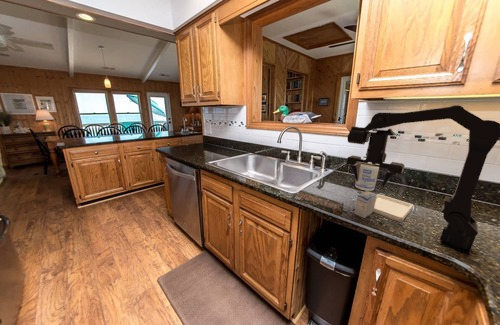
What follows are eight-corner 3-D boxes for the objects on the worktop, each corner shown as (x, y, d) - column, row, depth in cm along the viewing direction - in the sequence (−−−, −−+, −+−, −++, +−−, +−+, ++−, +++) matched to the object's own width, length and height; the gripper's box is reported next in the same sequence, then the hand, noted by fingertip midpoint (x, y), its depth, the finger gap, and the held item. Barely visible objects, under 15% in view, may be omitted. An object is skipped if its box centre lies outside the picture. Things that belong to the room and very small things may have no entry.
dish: (412, 208, 86) (413, 204, 85) (401, 222, 75) (402, 218, 74) (377, 197, 96) (378, 193, 96) (362, 208, 85) (363, 204, 85)
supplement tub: (360, 191, 103) (365, 165, 99) (351, 184, 113) (355, 160, 109) (378, 191, 103) (384, 165, 99) (368, 184, 112) (372, 160, 109)
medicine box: (362, 208, 85) (366, 190, 83) (373, 212, 82) (377, 194, 79) (353, 213, 81) (357, 194, 78) (365, 218, 77) (369, 199, 75)
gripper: (410, 147, 73) (401, 185, 77) (357, 141, 86) (352, 174, 90) (406, 151, 65) (396, 193, 70) (348, 143, 78) (343, 180, 82)
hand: (369, 184), depth 78 cm, fingers open, 9 cm apart
